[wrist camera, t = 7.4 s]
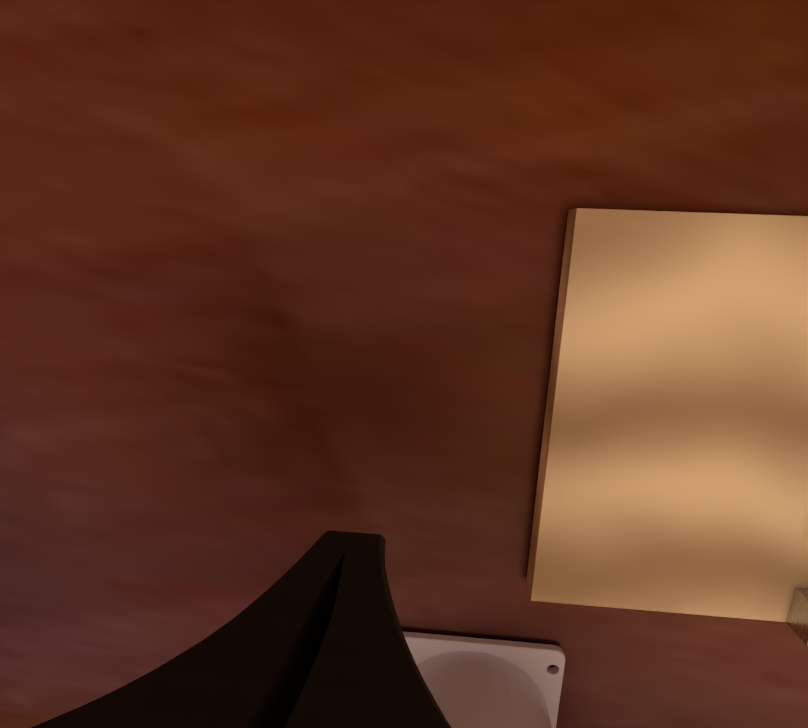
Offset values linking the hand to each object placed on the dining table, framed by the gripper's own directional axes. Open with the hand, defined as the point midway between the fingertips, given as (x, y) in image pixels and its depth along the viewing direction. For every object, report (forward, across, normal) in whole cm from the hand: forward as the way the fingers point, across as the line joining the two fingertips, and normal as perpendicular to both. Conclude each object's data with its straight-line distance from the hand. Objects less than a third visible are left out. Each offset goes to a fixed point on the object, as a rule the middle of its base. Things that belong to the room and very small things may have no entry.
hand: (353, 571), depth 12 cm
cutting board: (+9, -15, -1) cm, 18 cm away
